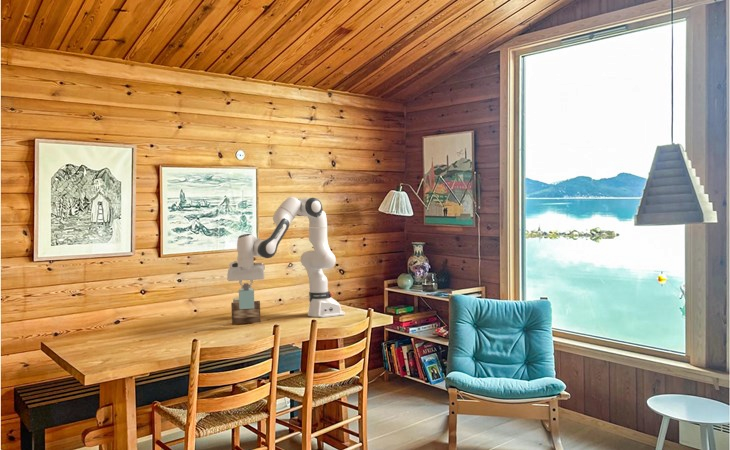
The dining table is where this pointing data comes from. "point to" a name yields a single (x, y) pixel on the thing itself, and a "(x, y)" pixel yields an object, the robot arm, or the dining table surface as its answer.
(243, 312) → the wall board
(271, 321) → the dining table surface
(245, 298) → the blue square bottle
